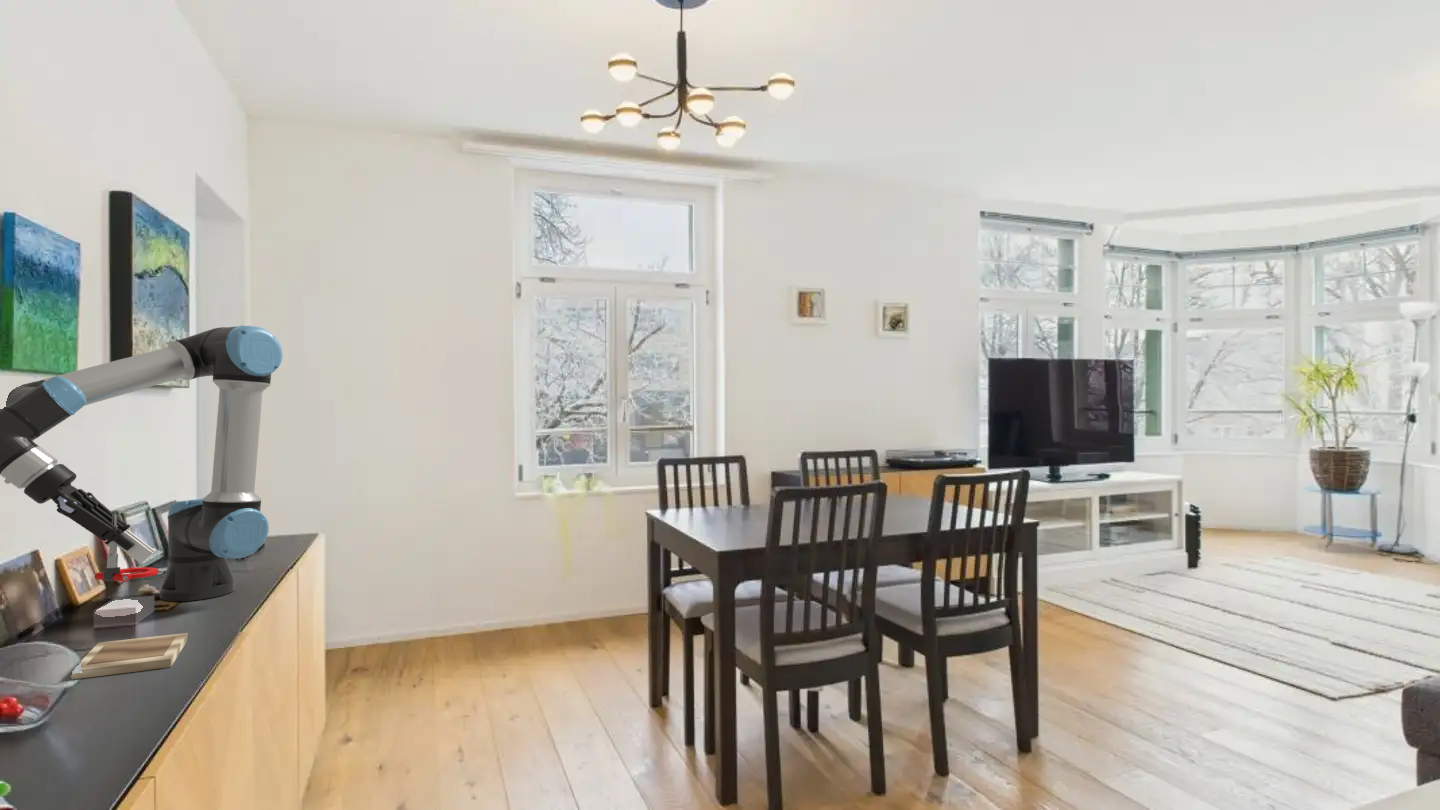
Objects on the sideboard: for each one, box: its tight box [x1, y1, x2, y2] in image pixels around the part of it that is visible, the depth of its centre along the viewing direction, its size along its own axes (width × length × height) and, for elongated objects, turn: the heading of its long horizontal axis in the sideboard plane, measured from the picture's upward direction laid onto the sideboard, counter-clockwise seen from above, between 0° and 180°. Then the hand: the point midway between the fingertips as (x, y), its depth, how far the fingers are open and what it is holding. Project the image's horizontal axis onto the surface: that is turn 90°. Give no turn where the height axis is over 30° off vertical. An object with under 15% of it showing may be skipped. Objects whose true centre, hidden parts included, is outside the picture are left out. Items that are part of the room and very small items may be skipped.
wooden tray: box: [70, 632, 188, 680], centre depth 140 cm, size 16×14×2 cm
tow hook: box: [94, 514, 159, 583], centre depth 153 cm, size 8×13×9 cm
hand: (148, 556), depth 152 cm, fingers closed on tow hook
